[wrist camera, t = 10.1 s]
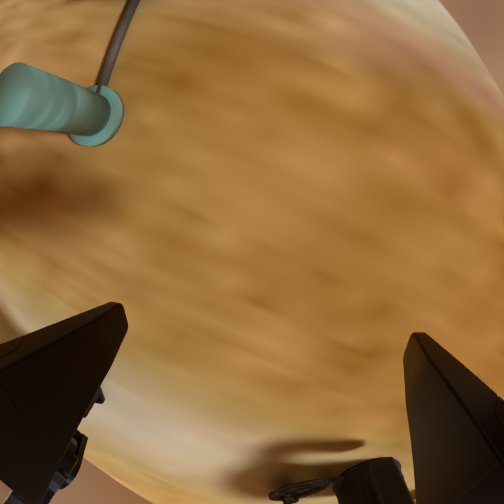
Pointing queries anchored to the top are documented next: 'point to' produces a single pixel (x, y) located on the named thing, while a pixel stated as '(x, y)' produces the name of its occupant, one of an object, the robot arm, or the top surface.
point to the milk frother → (356, 485)
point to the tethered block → (65, 98)
